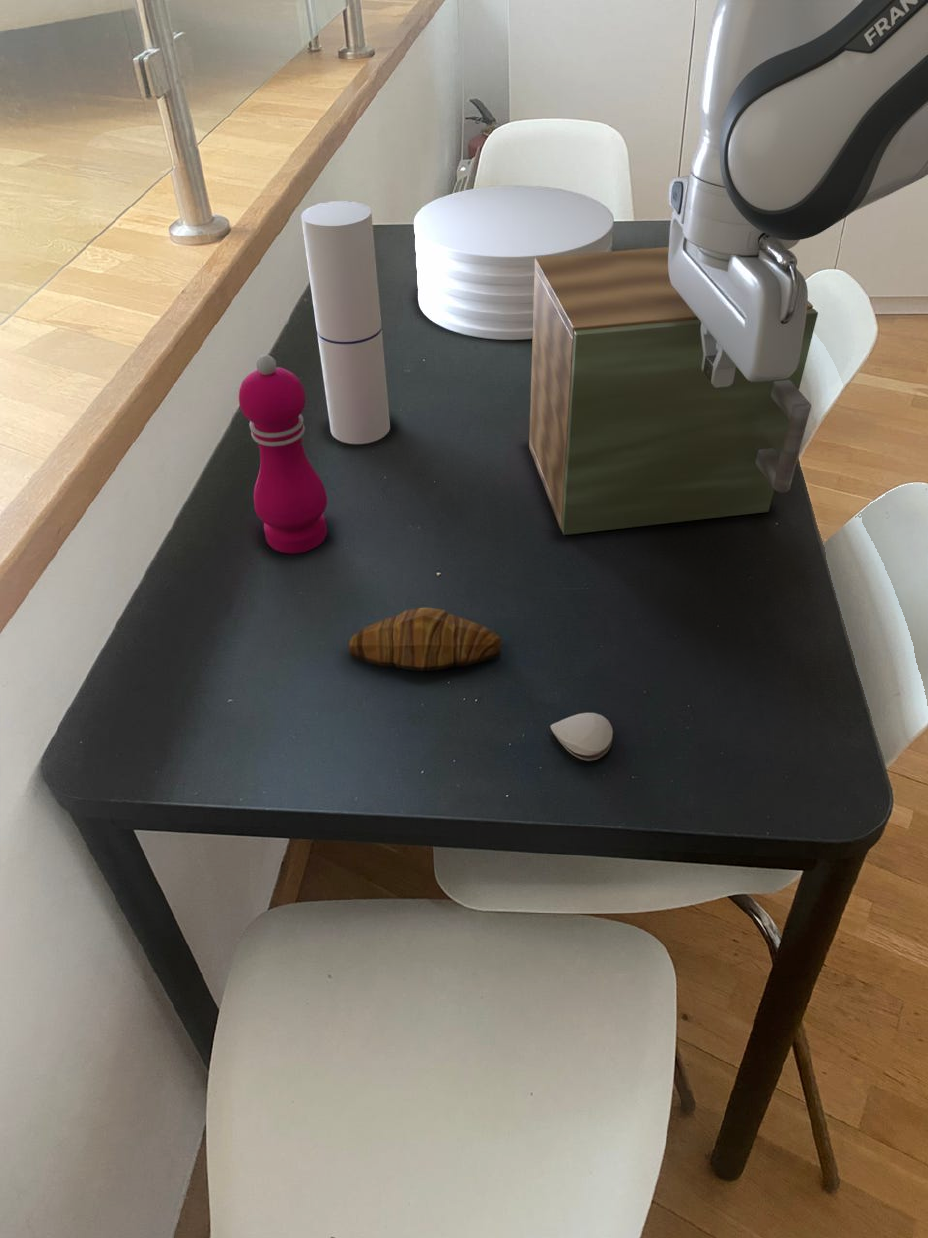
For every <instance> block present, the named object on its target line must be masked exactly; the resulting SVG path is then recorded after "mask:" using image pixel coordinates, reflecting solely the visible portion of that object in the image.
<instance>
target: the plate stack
mask: <svg viewBox="0 0 928 1238" xmlns="http://www.w3.org/2000/svg"><path fill="white" fill-rule="evenodd" d="M614 222H615V220H614V215H613V213H612V212H611V210H610V209H609V208H608V207H607V206H606V205H605V204H604V203H602V202H600V201H598V200H596V199H595V198H593V197H591V196H588V195H585V194H582V193H579V192H575V191H571V190H566V189H563V188H557V187H548V186H541V185H540V186H539V185H523V184H522V185H520V184H519V185H516V184H515V185H511V184H509V185H495V186H493V185H492V186H484V187H477V188H470V189H465V190H460V191H457V192H453V193H449V194H447V195H444V196H441V197H438V198H436V199H434V200H432V201H431V202H429V203H427V204H425V205H424V206H423V207H421V209H419V211H417V213H416V215H415V217H414V220H413V230H414V235H415V238H414V247H415V248H414V249H415V253H416V255H415V265H416V271H417V274H416V282H417V289H418V290H417V300H418V306H419V308H420V311H421V312H422V313H423V315H424V316H426V318H427V319H429V321H432V323H434V324H436V325H438V326H439V327H442V328H444V329H446V330H449V331H452V332H454V333H457V334H460V335H465V336H470V337H475V338H482V339H489V340H501V341H502V340H503V341H516V340H517V341H518V340H519V341H520V340H533V308H534V275H535V258H540V257H552V256H564V255H576V254H588V253H600V252H612V247H613V232H614V224H615V223H614Z"/></svg>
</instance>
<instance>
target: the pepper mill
mask: <svg viewBox="0 0 928 1238" xmlns="http://www.w3.org/2000/svg"><path fill="white" fill-rule="evenodd" d="M255 367H256V369H255V370H254V371H252V372H250V373H249V374H248V375H247V376H246V377H244V379H243V380H242V382H241V383H240V385H239V389H238V403H239V407H240V411H241V412H242V414H243V415H244V417H245V418H246V419H247V420H248V421H250V422H249V424H248V425H249V429H250V431H251V432H250V435H251V438H252V440H253V441H254V442H255V443H257V446H258V449H259V457H260V458H259V459H260V465H259V471H258V475H257V477H256V481H255V485H254V488H253V489H254V490H253V504H254V505H253V506H254V511H255V514H256V515H257V517H258V518H259V519H260V520H261V521H262V522H263V530H264V535H265V540H266V543H267V544H268V545H269V546H270V547H271V548H272V549H273V550H274V551H277V552H280V553H283V554H301V553H306V552H309V551H311V550H314V549H315V548H317V547H318V546H320V545H322V543H323V542H324V541H325V539H326V537H327V533H328V530H327V522H326V517H325V515H324V512H325V511H326V508H327V505H328V497H327V492H326V489H325V485H324V484H323V481H322V479H321V477H320V475H319V474H318V472H317V471H316V470H315V469H314V467H313V466H312V464H311V462H310V460H309V459H308V457H307V455H306V453H305V449H304V445H303V440H302V437H303V435H304V434H305V432H306V431H305V430H306V429H305V428H306V427H305V425H304V416H303V415H302V412H303V411H304V409H305V406H306V393H305V389H304V386H303V385H302V382H301V381H300V378H298V377H297V376H296V375H295V374H294V373H293V372H292V371H290V370H287V369H285V368H283V367H278V366H277V361H276V359H275V358H274V357H272V356H271V355H269V354H263V355H260V356H259V357H258V358H257V359H256V361H255Z"/></svg>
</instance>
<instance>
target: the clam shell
mask: <svg viewBox="0 0 928 1238" xmlns="http://www.w3.org/2000/svg"><path fill="white" fill-rule="evenodd" d="M550 729H551V731H552V733H553V734H554V737H556V739H557V741H558V742H559V743H560V744H561V745H562V746H563V747H564V749H565V750H566V751H567V752H568V753H570V754H571V755H572V756H574V757H576V758H578V759H579V760H583V761H588V762H591V761H595V760H599V759H600V758H602V757H604V755H606V754H607V753H608V752H609V750H610V749H611V747H612V741H613V733H614V730H613V726H612V724H611V722H610V721H609V719H607V718H606V717H605V716H604V715H602V714H599V713H596V712H582V713H576V714H574V715H571V716H568V717H566V718H563V719H561V720H559V721H556V722H554V723H552V724H550Z"/></svg>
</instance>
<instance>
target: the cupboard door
mask: <svg viewBox="0 0 928 1238" xmlns="http://www.w3.org/2000/svg"><path fill="white" fill-rule="evenodd" d="M818 315H819V312H818V311H817V310H816V309H815V308H812V309H807V314H806V321H805V328H804V335H803V342H802V347H801V353H800V359H799V363H798V366H797V369H796V370H795V371H794V373H793V374H792V375H791V376H790V377H788V378H786V379H781V380H773V381H763V382H751V381H749V380H747V379H746V378H745V376H744V375H743V374H742V372H741V371H740V370H739V369H738V367H736V369H735V375H734V380H733V383H732V384H731V385H730V386H728V387H719V388H716V387H714V386H713V385H712V383H711V382H710V380H709V379H708V377H707V376H706V375H705V373H704V372H703V371H702V369H701V367H702V361H703V354H704V353H703V347H702V338H701V321H700V320H699V319H697V320H686V321H675V322H664V323H653V324H642V325H631V326H620V327H609V328H598V329H587V330H576V331H574V338H573V354H572V370H571V386H570V402H569V418H568V434H567V450H566V466H565V482H564V498H563V514H562V530H561V533H562V535H563V536H568V535H577V534H586V533H593V532H603V531H611V530H619V529H629V528H638V527H639V528H640V527H647V526H656V525H664V524H673V523H674V524H675V523H683V522H691V521H700V520H701V521H702V520H707V519H716V518H717V519H719V518H726V517H733V516H735V517H736V516H743V515H753V514H760V513H769V511H770V507H771V504H772V499H773V496H774V491H776V492H778V493H787V492H788V491H790V489H791V485H792V483H793V482H792V481H793V477H794V474H795V469H796V466H797V462H798V459H799V455H800V451H801V447H802V445H803V444H802V443H803V441H804V435H805V432H806V428H807V424H808V421H809V416H810V413H811V410H812V404H811V403H810V401H809V400H808V399H807V398H806V397H805V396H804V394H803V393H802V392H801V391H800V387H801V383H802V379H803V375H804V371H805V367H806V363H807V359H808V354H809V351H810V347H811V344H812V339H813V336H814V331H815V327H816V323H817V320H818Z"/></svg>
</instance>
